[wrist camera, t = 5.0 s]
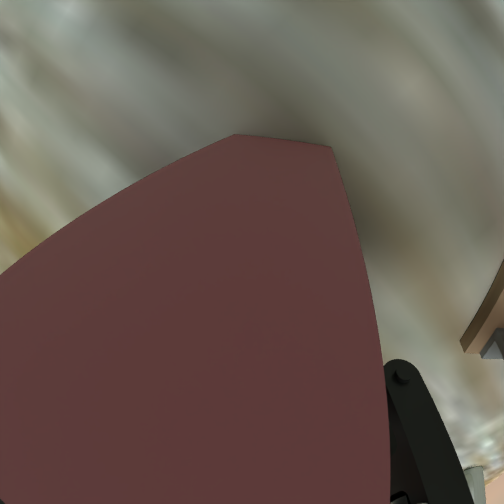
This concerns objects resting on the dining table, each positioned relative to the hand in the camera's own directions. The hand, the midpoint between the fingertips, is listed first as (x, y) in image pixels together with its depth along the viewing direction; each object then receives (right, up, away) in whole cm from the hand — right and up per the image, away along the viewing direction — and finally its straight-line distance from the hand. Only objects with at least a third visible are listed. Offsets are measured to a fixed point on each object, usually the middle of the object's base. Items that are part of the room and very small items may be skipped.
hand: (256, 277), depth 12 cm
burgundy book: (+1, +2, +3) cm, 4 cm away
